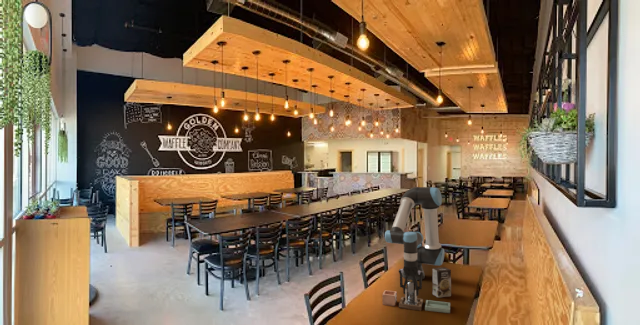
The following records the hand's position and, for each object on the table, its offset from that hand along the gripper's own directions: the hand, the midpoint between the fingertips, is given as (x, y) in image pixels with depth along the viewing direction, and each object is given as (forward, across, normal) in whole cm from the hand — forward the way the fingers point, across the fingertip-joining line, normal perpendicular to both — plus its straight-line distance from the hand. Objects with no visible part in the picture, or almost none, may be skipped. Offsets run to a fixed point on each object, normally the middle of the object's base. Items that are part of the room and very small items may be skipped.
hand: (411, 300), depth 212 cm
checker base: (+3, 0, 0) cm, 3 cm away
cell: (0, 0, 0) cm, 0 cm away
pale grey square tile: (+2, 0, 0) cm, 2 cm away
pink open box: (+3, -12, -1) cm, 12 cm away
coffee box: (+3, +16, +21) cm, 27 cm away
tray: (+3, +14, 0) cm, 15 cm away
